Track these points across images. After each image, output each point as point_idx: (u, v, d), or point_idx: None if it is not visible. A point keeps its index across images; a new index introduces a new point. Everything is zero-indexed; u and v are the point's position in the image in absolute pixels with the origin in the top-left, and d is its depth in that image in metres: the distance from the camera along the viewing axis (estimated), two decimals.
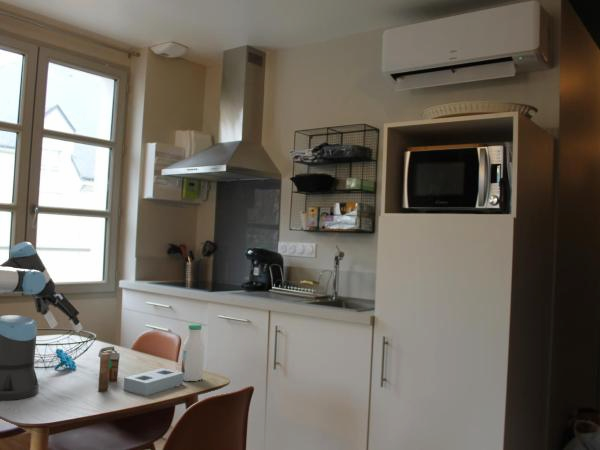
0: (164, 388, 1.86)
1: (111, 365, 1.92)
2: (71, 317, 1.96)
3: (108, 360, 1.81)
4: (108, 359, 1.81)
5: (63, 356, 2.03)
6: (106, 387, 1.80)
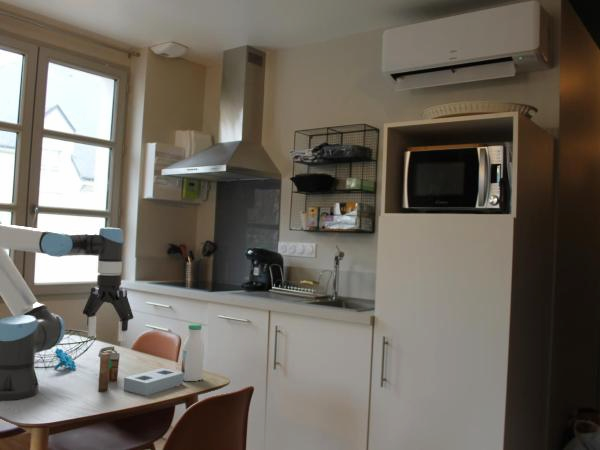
0: (164, 388, 1.86)
1: (111, 365, 1.92)
2: (123, 319, 1.79)
3: (108, 360, 1.81)
4: (108, 359, 1.81)
5: (63, 356, 2.03)
6: (106, 387, 1.80)
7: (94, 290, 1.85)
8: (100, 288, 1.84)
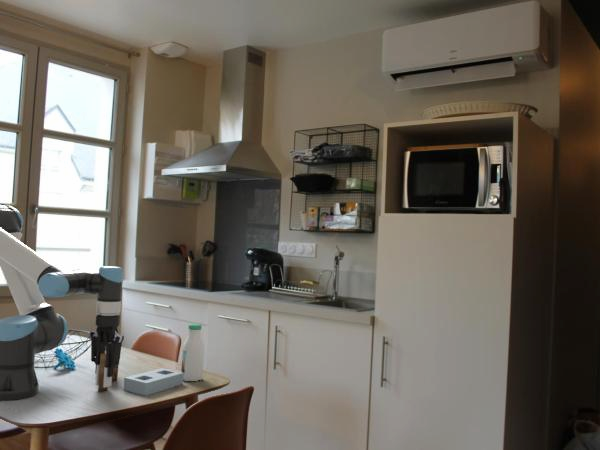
0: (164, 388, 1.86)
1: None
2: (109, 366, 1.79)
3: None
4: None
5: (62, 356, 2.03)
6: (106, 387, 1.80)
7: (93, 333, 1.83)
8: (97, 327, 1.82)
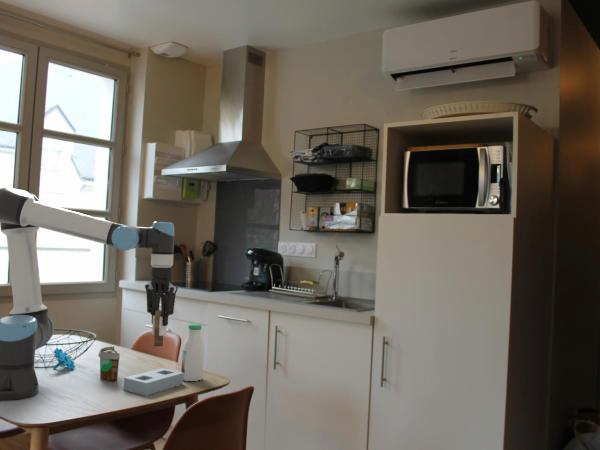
0: (164, 388, 1.86)
1: (111, 365, 1.92)
2: (164, 315, 1.89)
3: None
4: None
5: (61, 356, 2.03)
6: (161, 342, 1.90)
7: (148, 286, 1.94)
8: (152, 279, 1.92)
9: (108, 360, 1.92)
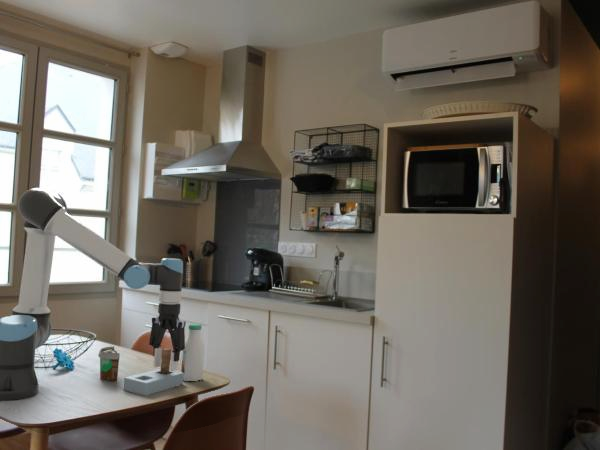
0: (164, 388, 1.86)
1: (111, 365, 1.92)
2: (176, 350, 1.90)
3: (169, 355, 1.93)
4: (169, 354, 1.93)
5: (61, 356, 2.03)
6: None
7: (155, 319, 1.96)
8: (160, 315, 1.94)
9: (108, 360, 1.92)
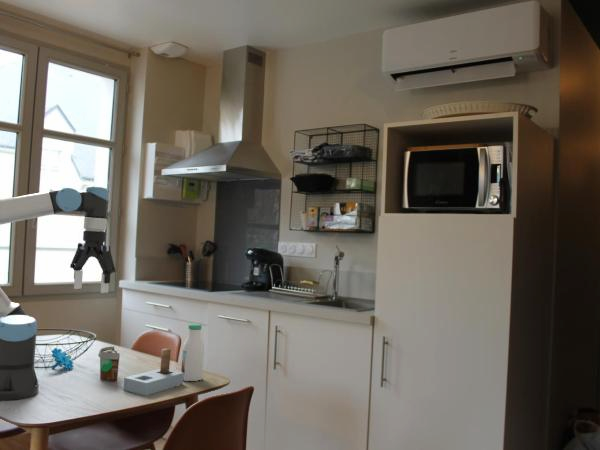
0: (164, 388, 1.86)
1: (111, 365, 1.92)
2: (106, 272, 1.90)
3: (169, 355, 1.93)
4: (169, 354, 1.93)
5: (59, 356, 2.03)
6: None
7: (81, 245, 1.97)
8: (86, 243, 1.95)
9: (108, 360, 1.92)
